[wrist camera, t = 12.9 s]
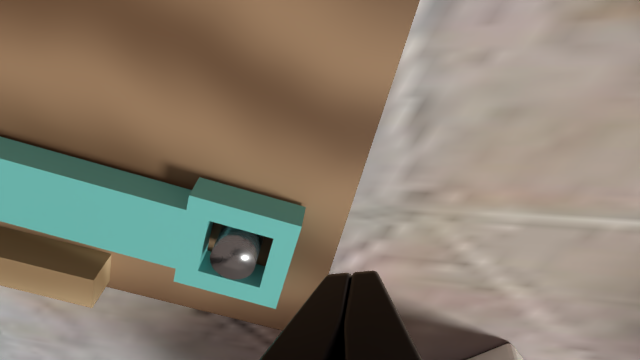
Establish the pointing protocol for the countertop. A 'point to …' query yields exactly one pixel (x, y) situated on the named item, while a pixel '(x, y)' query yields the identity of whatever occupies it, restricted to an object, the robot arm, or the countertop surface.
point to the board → (198, 121)
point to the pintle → (235, 252)
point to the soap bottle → (499, 354)
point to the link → (146, 217)
